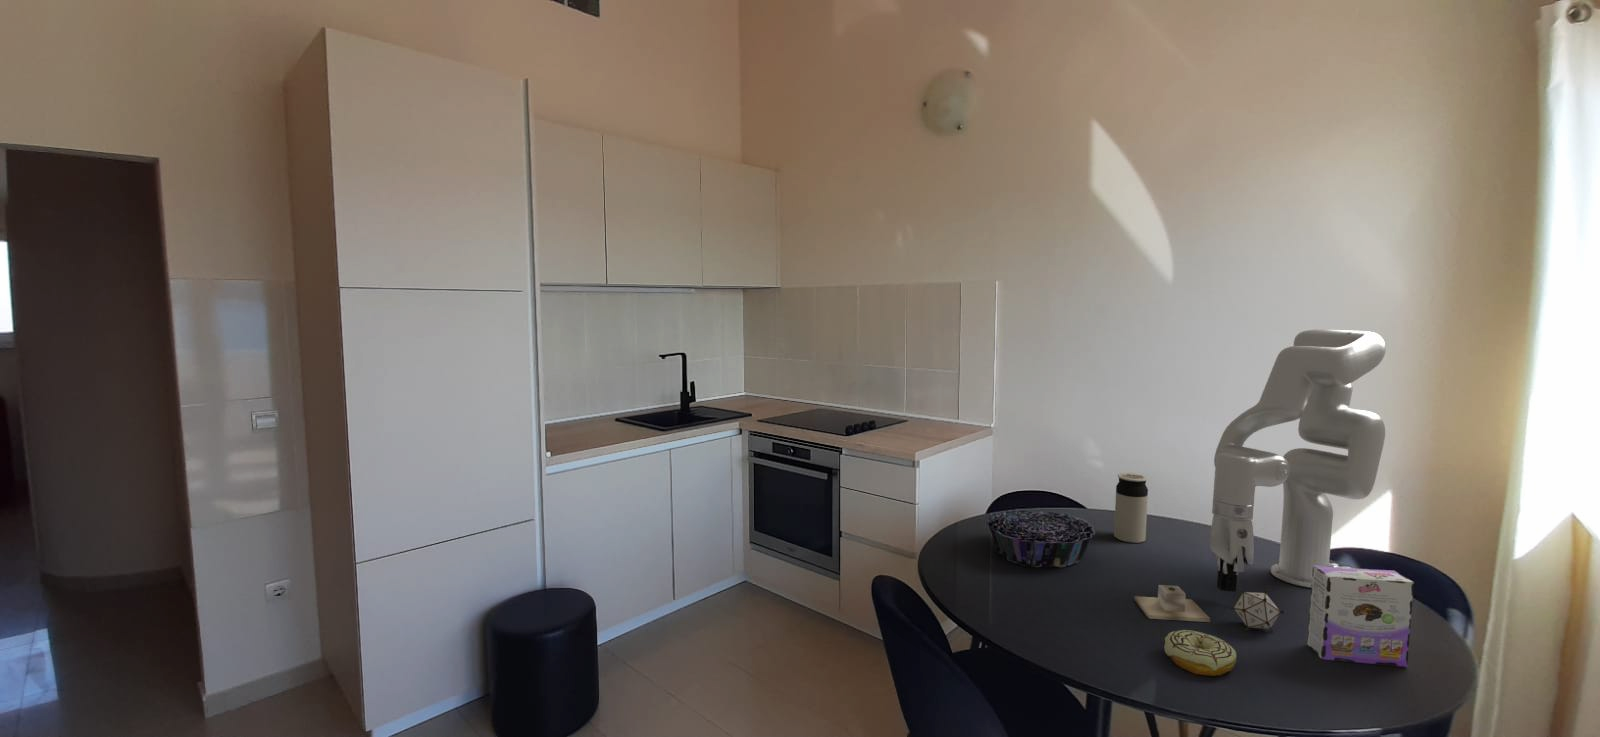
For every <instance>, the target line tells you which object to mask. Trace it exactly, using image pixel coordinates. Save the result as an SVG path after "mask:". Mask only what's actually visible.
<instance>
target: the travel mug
mask: <svg viewBox="0 0 1600 737" xmlns="http://www.w3.org/2000/svg"><path fill="white" fill-rule="evenodd" d="M1117 477H1118V483H1117V484H1116V485H1115V502H1114V503H1115V505H1114V506H1115V507H1114V508H1115V509H1114V528H1113V529H1114V530H1113V531H1114V532H1113V536H1114V537H1115V538H1116V539H1118V540H1119V541H1122V542H1125V543H1131V544H1133V543H1134V544H1140V543H1143V542H1146V538H1147V537H1146V536H1147V516H1148V515H1147V514H1148V493H1149V488H1148V487H1147V485H1146V483H1147V481H1148V477H1147V476H1146V475H1144V474H1139V473H1133V472H1132V473H1131V472H1122V473H1119V474H1117Z"/></svg>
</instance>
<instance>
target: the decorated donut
mask: <svg viewBox="0 0 1600 737" xmlns="http://www.w3.org/2000/svg"><path fill="white" fill-rule="evenodd" d="M1164 642H1165V643H1164V647H1163V648H1164V653H1165V654H1166V655H1167V656H1168V657H1169V658H1170V659H1171V661H1173V662H1174V664H1175V665H1177V666H1178V667H1180V668H1181V669H1183V670H1186V671H1187V672H1189V673H1192V674H1194V675H1200V676H1209V677H1211V676H1212V677H1215V676H1222V675H1224V674H1226V673H1228V672H1231V671H1232V670H1233V668H1234V666H1235V664H1236V662H1237V651H1236V650H1235V649H1234V647H1233V646H1231V645H1230V644H1229V643H1227V641H1225V640H1223V639H1221V638H1218V637H1217V636H1215V635H1212V634H1207V633H1204V632H1202V631H1201V632H1200V631H1196V630H1190V629H1180V630H1173V631H1170V632H1169V633H1168V634H1167V636H1165V638H1164Z"/></svg>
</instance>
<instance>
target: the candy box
mask: <svg viewBox="0 0 1600 737" xmlns="http://www.w3.org/2000/svg"><path fill="white" fill-rule="evenodd" d="M1343 567H1344V566H1343ZM1343 567H1340V566H1339V567H1328V566H1314V565H1313V574H1312V586H1311V588H1310V589H1311V590H1310V601H1309V613H1308V615H1309V616H1308V626H1307V627H1308V628H1307V629H1308V630H1307V638H1306V641H1307V643H1306V645H1307V646H1308V647H1309V648H1310V649H1311V650H1312V651H1313V652H1314V653H1315V654H1316V655H1317V656H1318V657H1319V658H1320V659H1321V660H1326V661H1337V662H1346V663H1347V662H1349V663H1359V664H1369V665H1370V664H1371V665H1382V666H1393V667H1404V668H1405V667H1406V668H1408V664H1409V651H1410V636H1411V625H1412V624H1411V623H1412V608H1413V596H1414V587H1415V586H1414V584H1415V582H1414V581H1413V580H1410V579H1409V578H1408V577H1406V576H1404V575H1402V574H1400V573H1399V572H1397V571H1396V570H1390V569H1389V570H1386V569H1373V568H1370V569H1369V568H1356V567H1350V568H1343Z"/></svg>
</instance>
